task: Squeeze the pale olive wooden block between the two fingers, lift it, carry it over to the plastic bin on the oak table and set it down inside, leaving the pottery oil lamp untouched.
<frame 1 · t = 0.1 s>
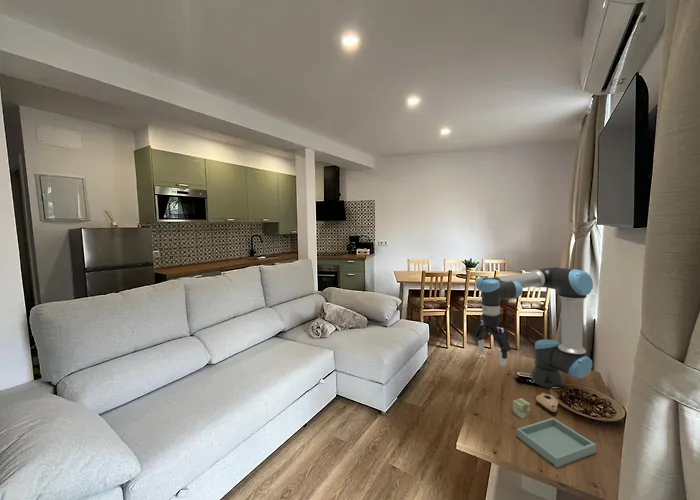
hand: (491, 358, 142), 28 cm above the cabinet, fingers open, 13 cm apart
bin: (554, 444, 125), on the cabinet
pottery oil lamp: (547, 408, 148), on the cabinet
olive block: (521, 414, 145), on the cabinet
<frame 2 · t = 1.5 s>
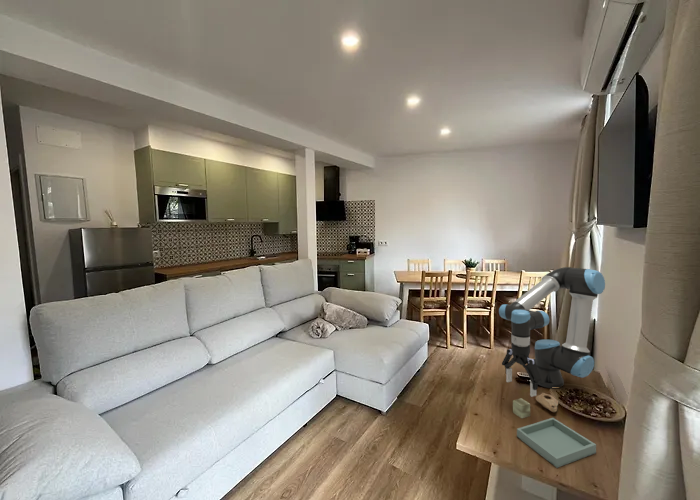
hand: (520, 388, 144), 13 cm above the cabinet, fingers open, 13 cm apart
nothing on the cabinet moved.
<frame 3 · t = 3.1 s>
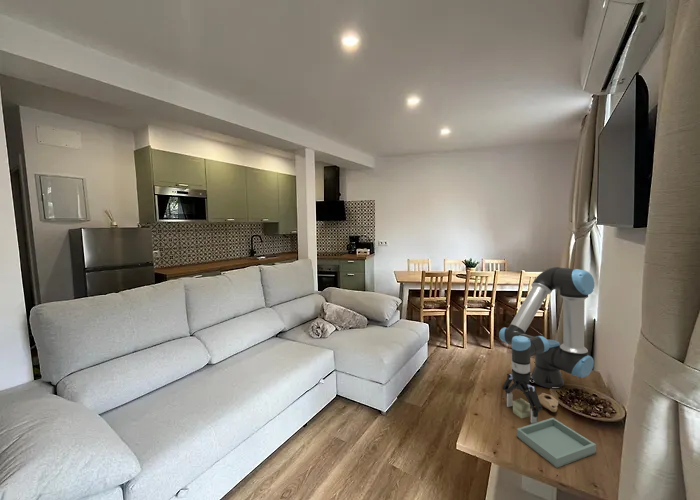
hand: (521, 414, 145), 0 cm above the cabinet, fingers open, 13 cm apart
nothing on the cabinet moved.
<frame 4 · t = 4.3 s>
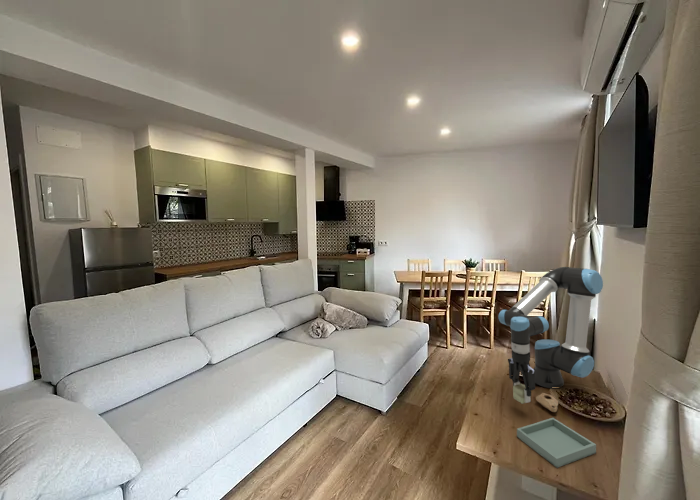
hand: (522, 398, 145), 7 cm above the cabinet, fingers closed on olive block, 5 cm apart
olive block: (521, 399, 145), point 7 cm above the cabinet, touching gripper
everything else where it was.
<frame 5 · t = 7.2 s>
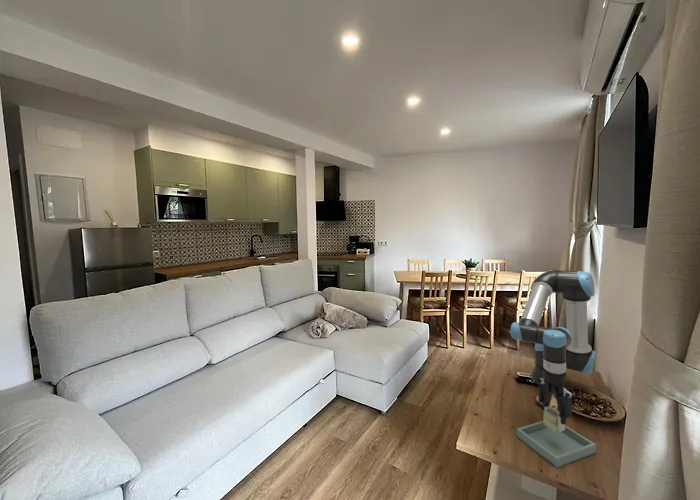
hand: (554, 426, 124), 8 cm above the cabinet, fingers closed on olive block, 5 cm apart
olive block: (553, 427, 124), point 8 cm above the cabinet, touching gripper
everything else where it was.
when the fingers open (1 cm above the cabinet, at t = 8.7 s): olive block stays where it is, resting on bin.
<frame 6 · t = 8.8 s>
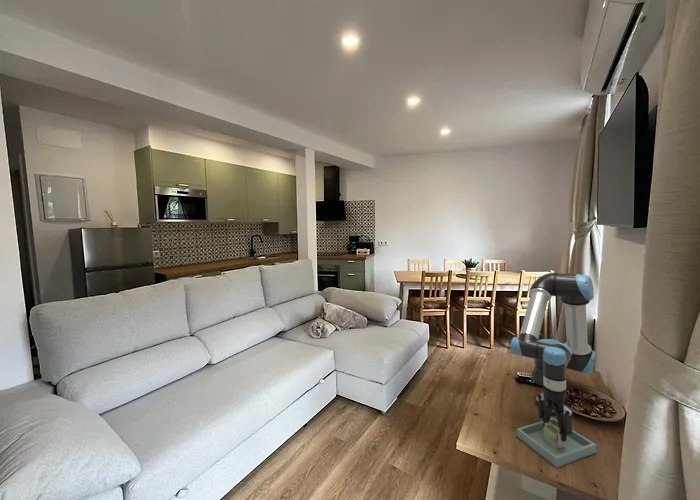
hand: (554, 442, 125), 1 cm above the cabinet, fingers open, 5 cm apart
olive block: (553, 443, 125), point 1 cm above the cabinet, touching bin
everything else where it was.
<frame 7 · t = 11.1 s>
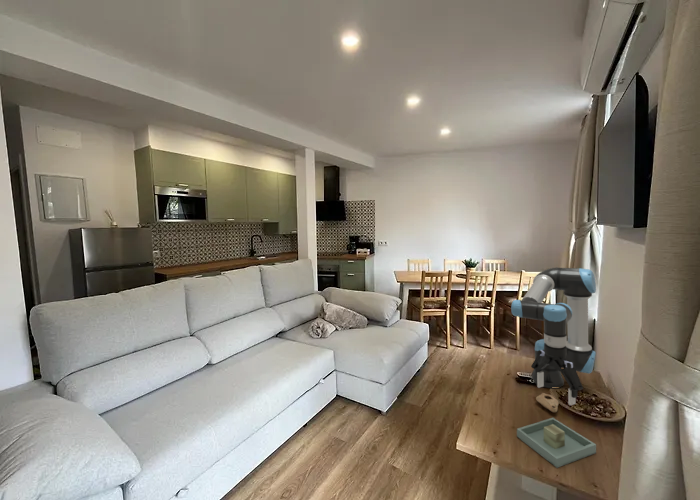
hand: (555, 395, 125), 20 cm above the cabinet, fingers open, 13 cm apart
nothing on the cabinet moved.
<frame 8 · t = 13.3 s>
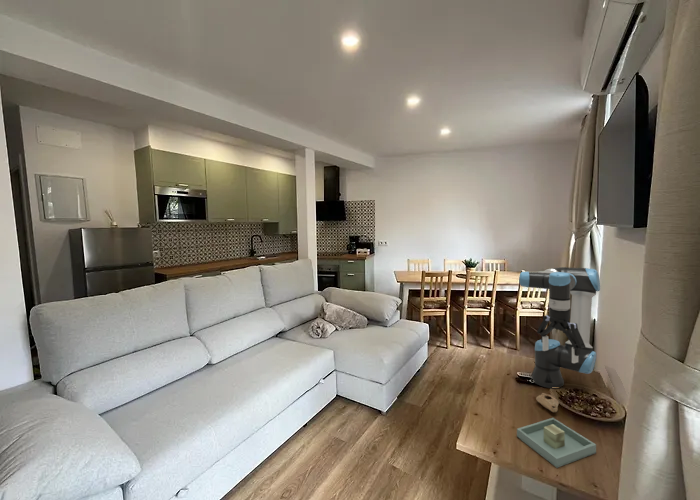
hand: (559, 356, 135), 31 cm above the cabinet, fingers open, 13 cm apart
nothing on the cabinet moved.
at the end: olive block inside the target area on the bin (0.4 cm from its centre), point 0.6 cm above the bin's base; olive block tilted 0°; the gripper is holding nothing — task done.
